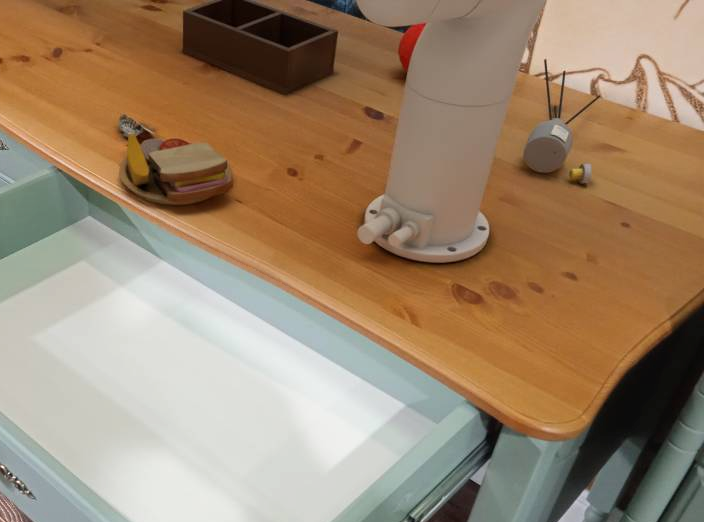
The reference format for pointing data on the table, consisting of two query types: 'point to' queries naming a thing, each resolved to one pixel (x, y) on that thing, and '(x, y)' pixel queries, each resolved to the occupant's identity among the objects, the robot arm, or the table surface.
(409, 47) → the apple
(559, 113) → the reed diffuser
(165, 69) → the table surface
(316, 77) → the divided wooden box
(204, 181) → the toy sandwich meal
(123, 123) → the silver ridged wedge
